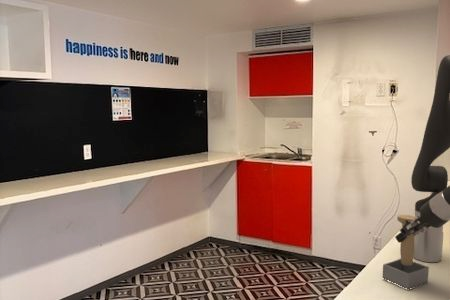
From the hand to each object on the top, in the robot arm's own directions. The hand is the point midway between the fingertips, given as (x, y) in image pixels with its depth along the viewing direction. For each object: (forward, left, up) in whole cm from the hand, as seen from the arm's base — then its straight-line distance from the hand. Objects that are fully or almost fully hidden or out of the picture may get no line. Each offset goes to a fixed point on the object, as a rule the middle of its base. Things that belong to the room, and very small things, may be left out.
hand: (401, 238), depth 132 cm
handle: (0, +2, -8) cm, 8 cm away
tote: (0, +2, -13) cm, 13 cm away
